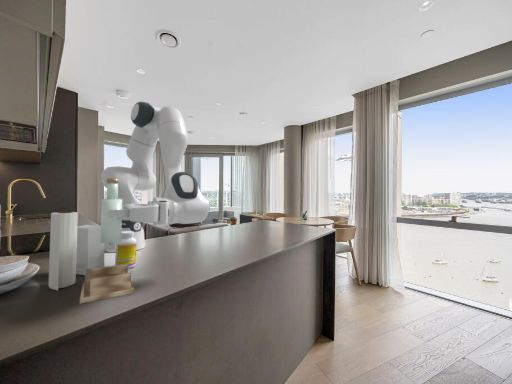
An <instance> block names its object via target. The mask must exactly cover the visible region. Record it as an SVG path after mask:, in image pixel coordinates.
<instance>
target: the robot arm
mask: <svg viewBox="0 0 512 384" xmlns="http://www.w3.org/2000/svg"><path fill="white" fill-rule="evenodd" d="M130 119H131V122H132V124H133V125H134V126H135V127H134V128H133V131H132V133H131V136H130V138H129V142H128V145H127V147H126V148H127V149H126V150H125V151H126V153H125V154H126V156H127V158H128V159H129V160H131V161H132V165H131V167H127V166H126V167H125V166H119V165H118V166H108V167H106V168H104V169H103V170H102V173H101V176H100V181H101V183H102V185H103V186H104V187H105V188H106V189H107V183H106V180H107V178H116V179H119V183H118V199H122V209H120V210H109V211H108V215H109V216H110V217H122V228H121V232H123V231H133V232H134V235H133V238H135V239H136V251H138V250H143V249H145V247H146V245H147V243H146V241H145V230H144V228H143V226H144V223H151V224H153V226H168V225H173V224H182V225H185V224H186V225H187V224H195V223H201V222H204V221H205V220H206V219H207V218H208V216H209V214H210V209H211V206H210V205H211V203H210V201H209V199H208V198H206V197H205V196H204V195H203V193H202V191H201V190H200V187H199V183H198V181H197V178H195V176H194V175H193V174H191V173H189V172H185V171H181V164H182V161H183V158H184V155H185V153H186V149H188V139H189V137H188V136H189V135H188V129H187V126H186V122H185V119H184V117H183V115H182V113H181V112H180V110H179V109H178V108H176V107H175V106H170V105H169V106H164V107H162V108H161V107H158V106H156V105H153V104H150V103H149V102H145V101H138V102H136V103H135V104H134V105H133V107H132V108H131V113H130ZM158 142H159V147H160V152H161V153H160V154H161V159H162V169H163V182H164V183H163V184H164V190H163V192H162V193H163V194H162V195H161V196H155V197H153V199H152V200H148V201H147V203H142V201H141V200H140V199H138V198H136V196H135V193H134V191H136V192H137V191H138V192H139V191H141V192H143V191H149V190H152V189H153V188H155V186H156V184H157V176H156V175H155V173H154V172H153V169H152V159H153V156H154V153H155V149H156V147H157V144H158ZM104 252H107V253H116V243H104Z"/></svg>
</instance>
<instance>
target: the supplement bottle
mask: <svg viewBox="0 0 512 384" xmlns="http://www.w3.org/2000/svg"><path fill="white" fill-rule="evenodd" d="M133 235H134V232H133V231H123V232H121V241H120V242H116V252H115V263H114V266H118V265H126V264H128V270H129V269H132V268H134V267H135V266H136V265H137V250H136V239H135V238H133Z"/></svg>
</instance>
